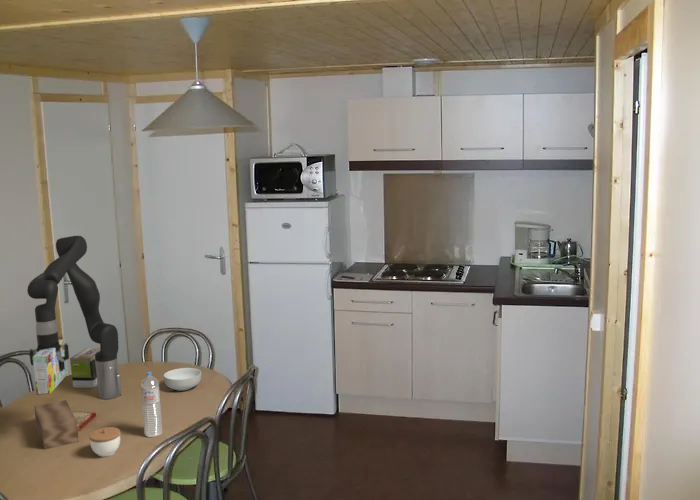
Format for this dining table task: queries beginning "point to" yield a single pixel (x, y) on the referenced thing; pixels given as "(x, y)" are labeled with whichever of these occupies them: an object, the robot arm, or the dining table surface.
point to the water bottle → (151, 406)
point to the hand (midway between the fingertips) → (51, 372)
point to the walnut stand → (56, 424)
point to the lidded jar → (105, 441)
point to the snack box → (48, 370)
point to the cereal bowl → (182, 378)
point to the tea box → (84, 368)
